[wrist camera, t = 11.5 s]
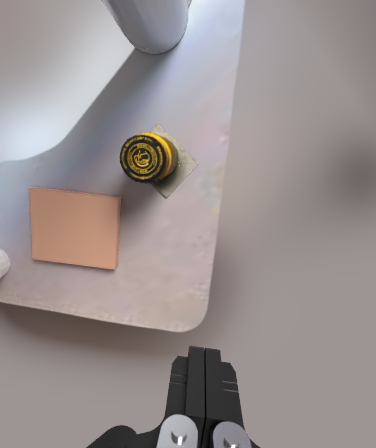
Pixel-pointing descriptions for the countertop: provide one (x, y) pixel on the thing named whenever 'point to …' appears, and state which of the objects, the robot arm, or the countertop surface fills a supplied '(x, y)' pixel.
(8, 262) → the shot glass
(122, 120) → the countertop surface
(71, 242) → the tile
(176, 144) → the condiment
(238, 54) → the countertop surface
